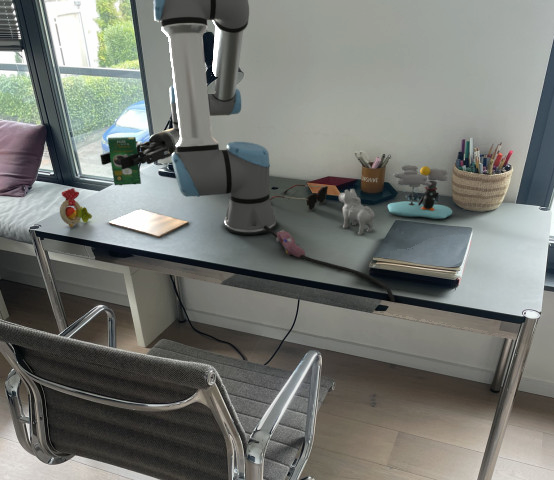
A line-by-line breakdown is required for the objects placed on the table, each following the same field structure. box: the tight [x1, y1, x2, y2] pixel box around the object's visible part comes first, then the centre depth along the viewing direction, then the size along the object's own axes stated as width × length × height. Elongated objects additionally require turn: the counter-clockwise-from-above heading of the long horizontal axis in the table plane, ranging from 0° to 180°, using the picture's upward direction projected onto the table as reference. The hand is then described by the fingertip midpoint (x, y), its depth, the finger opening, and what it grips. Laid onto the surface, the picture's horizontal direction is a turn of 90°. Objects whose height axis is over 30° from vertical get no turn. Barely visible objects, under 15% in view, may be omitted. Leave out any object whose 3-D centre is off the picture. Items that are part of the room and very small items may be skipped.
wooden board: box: [109, 208, 189, 238], centre depth 170 cm, size 20×13×1 cm, turn 57°
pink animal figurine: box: [275, 229, 306, 259], centre depth 151 cm, size 10×5×7 cm, turn 17°
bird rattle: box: [59, 187, 93, 228], centre depth 167 cm, size 6×11×9 cm
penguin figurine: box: [387, 164, 453, 220], centre depth 171 cm, size 20×11×15 cm, turn 72°
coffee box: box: [107, 136, 142, 186], centre depth 164 cm, size 8×3×13 cm, turn 101°
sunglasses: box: [270, 184, 329, 211], centre depth 184 cm, size 14×16×5 cm
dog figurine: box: [338, 188, 375, 236], centre depth 164 cm, size 5×13×11 cm, turn 38°
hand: (112, 162), depth 160 cm, fingers closed on coffee box, 7 cm apart
